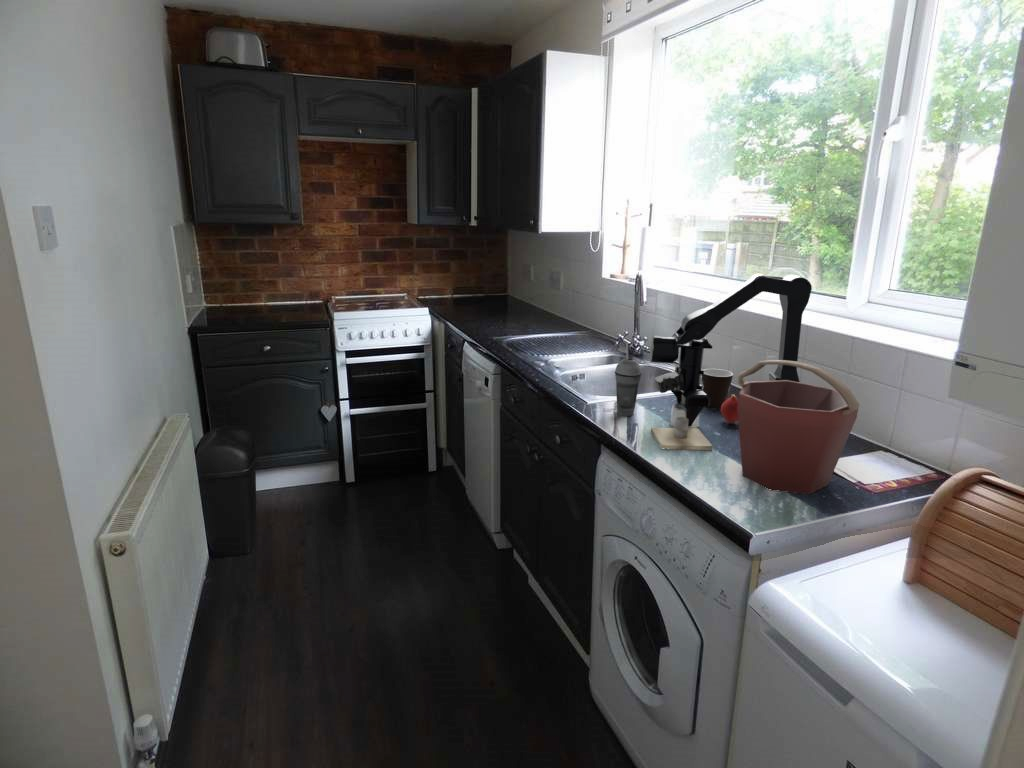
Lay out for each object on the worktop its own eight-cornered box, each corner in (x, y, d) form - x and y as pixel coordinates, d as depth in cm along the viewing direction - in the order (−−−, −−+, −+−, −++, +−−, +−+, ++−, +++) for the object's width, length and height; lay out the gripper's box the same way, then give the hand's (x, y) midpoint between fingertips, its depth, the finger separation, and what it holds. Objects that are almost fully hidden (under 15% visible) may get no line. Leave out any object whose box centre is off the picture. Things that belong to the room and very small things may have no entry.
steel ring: (693, 420, 167) (695, 403, 166) (701, 429, 161) (703, 411, 159) (667, 420, 167) (669, 402, 166) (674, 429, 161) (676, 411, 159)
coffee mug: (723, 412, 175) (727, 378, 172) (693, 406, 180) (697, 373, 177) (736, 402, 183) (740, 370, 181) (708, 397, 188) (711, 365, 186)
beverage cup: (626, 419, 168) (632, 347, 162) (606, 412, 173) (611, 342, 167) (644, 414, 172) (649, 343, 167) (623, 407, 178) (628, 338, 172)
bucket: (705, 462, 141) (717, 355, 134) (778, 448, 149) (793, 347, 142) (791, 510, 119) (811, 385, 112) (870, 491, 128) (894, 374, 121)
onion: (741, 421, 168) (745, 392, 166) (743, 428, 163) (746, 398, 160) (718, 418, 170) (722, 390, 167) (719, 425, 164) (723, 396, 162)
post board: (697, 431, 159) (699, 409, 158) (712, 449, 148) (714, 426, 146) (650, 431, 159) (652, 409, 158) (661, 449, 148) (663, 425, 146)
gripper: (651, 354, 168) (646, 409, 173) (668, 373, 150) (662, 433, 155) (692, 355, 168) (686, 410, 173) (714, 373, 150) (707, 434, 155)
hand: (684, 421), depth 164 cm, fingers closed on steel ring, 7 cm apart
